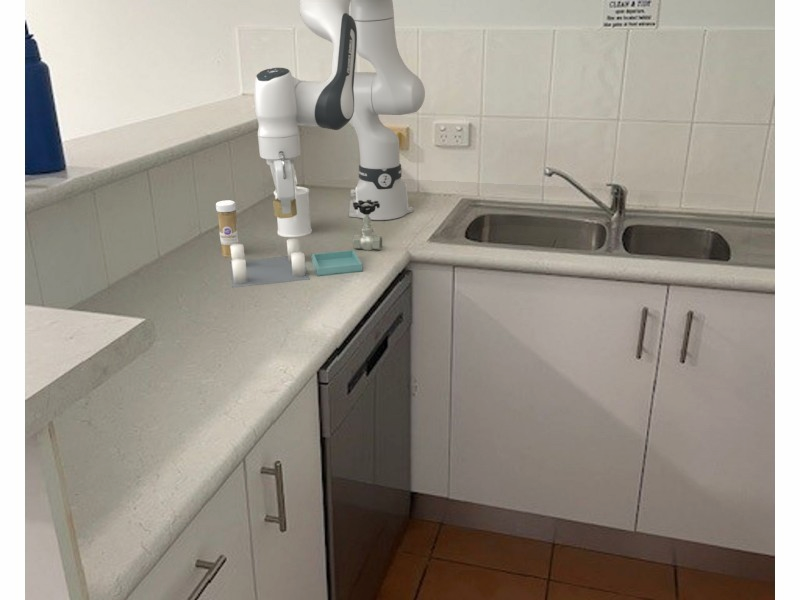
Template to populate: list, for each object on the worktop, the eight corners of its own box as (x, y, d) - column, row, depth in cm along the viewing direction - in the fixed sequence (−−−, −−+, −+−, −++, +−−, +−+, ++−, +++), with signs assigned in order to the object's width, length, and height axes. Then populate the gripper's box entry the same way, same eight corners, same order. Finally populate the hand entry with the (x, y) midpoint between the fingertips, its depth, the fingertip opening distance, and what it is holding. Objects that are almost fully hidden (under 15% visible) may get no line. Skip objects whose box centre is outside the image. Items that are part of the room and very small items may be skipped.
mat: (230, 262, 172) (230, 261, 172) (301, 255, 176) (301, 254, 176) (232, 288, 157) (232, 287, 157) (310, 280, 161) (310, 279, 161)
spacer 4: (291, 273, 164) (290, 252, 162) (305, 271, 165) (303, 251, 163) (293, 277, 162) (291, 256, 160) (306, 276, 162) (305, 255, 160)
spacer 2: (233, 279, 161) (231, 258, 159) (247, 278, 162) (245, 257, 160) (234, 284, 158) (231, 263, 156) (248, 283, 159) (245, 262, 157)
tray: (312, 262, 171) (311, 254, 171) (354, 258, 174) (353, 249, 173) (317, 277, 162) (317, 268, 161) (362, 272, 164) (361, 264, 164)
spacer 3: (287, 258, 173) (285, 238, 171) (300, 257, 174) (298, 237, 172) (288, 262, 171) (287, 242, 169) (301, 261, 171) (300, 241, 169)
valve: (378, 255, 175) (376, 207, 171) (351, 254, 177) (349, 206, 172) (384, 246, 181) (382, 200, 177) (358, 245, 183) (356, 199, 178)
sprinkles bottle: (223, 259, 175) (216, 205, 169) (221, 253, 179) (214, 200, 173) (242, 257, 176) (236, 203, 171) (239, 251, 180) (233, 198, 175)
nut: (273, 213, 164) (272, 198, 162) (296, 211, 165) (294, 196, 163) (274, 219, 160) (273, 203, 158) (297, 217, 161) (296, 201, 159)
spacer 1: (232, 264, 170) (230, 244, 169) (245, 263, 171) (243, 243, 169) (232, 268, 168) (230, 248, 166) (245, 267, 168) (243, 246, 166)
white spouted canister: (275, 229, 196) (268, 156, 188) (309, 226, 198) (303, 153, 191) (280, 241, 187) (273, 164, 179) (315, 237, 189) (310, 161, 181)
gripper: (298, 156, 148) (304, 221, 153) (290, 137, 166) (295, 196, 171) (267, 159, 146) (274, 224, 152) (262, 139, 165) (268, 198, 170)
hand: (285, 209), depth 162 cm, fingers closed on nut, 4 cm apart
